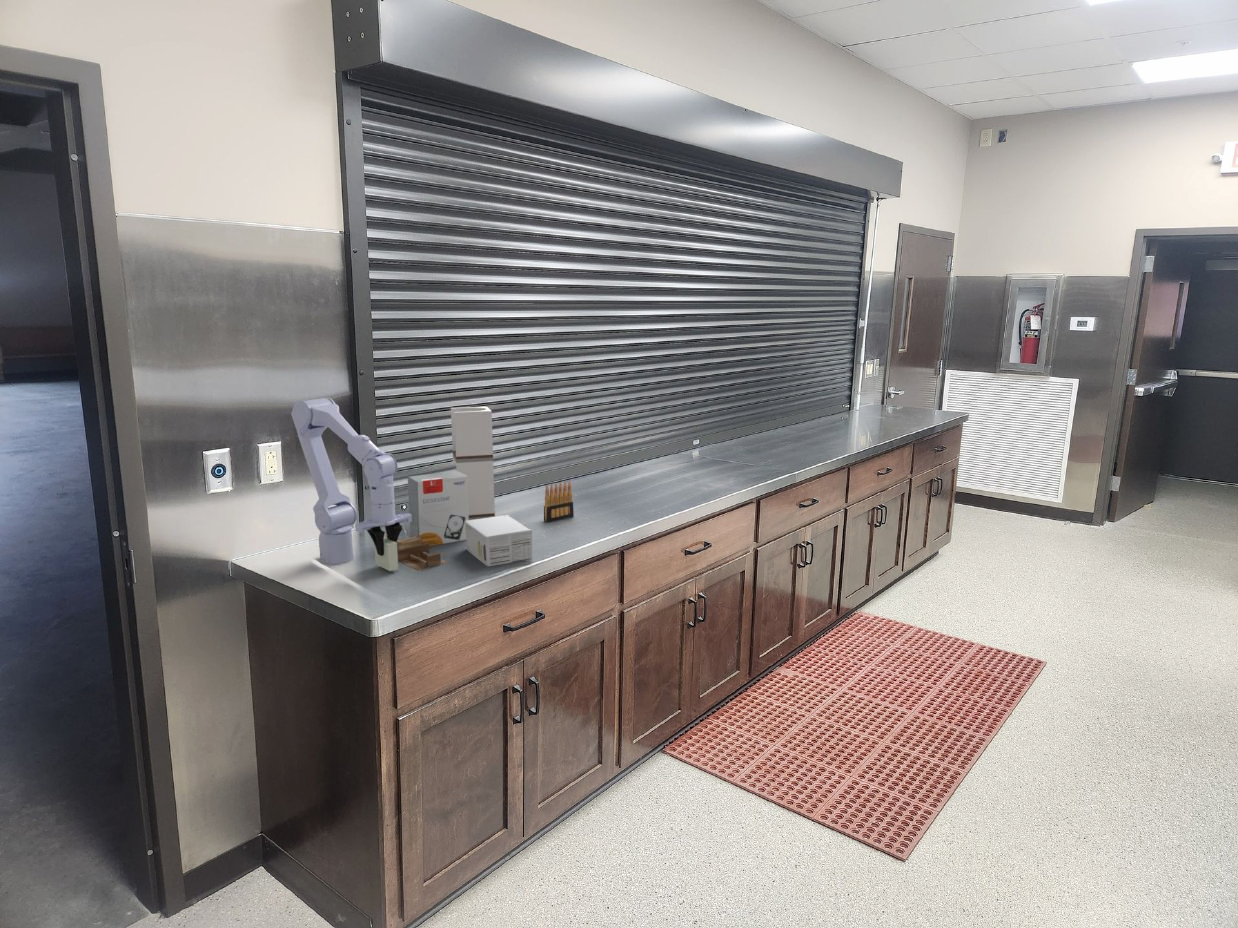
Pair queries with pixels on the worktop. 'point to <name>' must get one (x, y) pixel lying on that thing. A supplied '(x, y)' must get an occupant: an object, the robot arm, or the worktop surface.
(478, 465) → the tall banded white pillar
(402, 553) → the rack
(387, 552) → the panel
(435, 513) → the hard drive box
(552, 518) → the ammunition clip
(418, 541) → the offcut upper
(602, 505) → the worktop surface
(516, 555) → the supplement box
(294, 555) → the worktop surface
